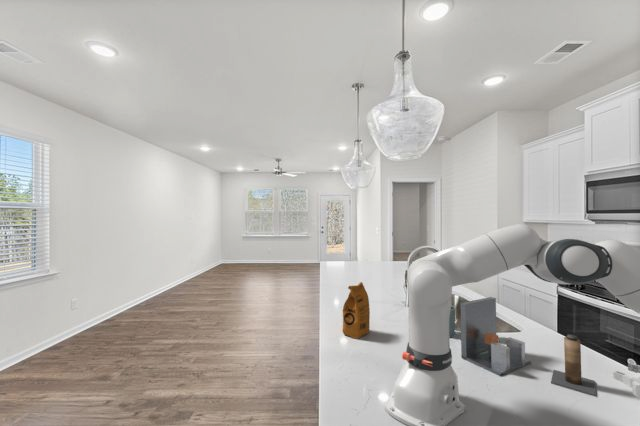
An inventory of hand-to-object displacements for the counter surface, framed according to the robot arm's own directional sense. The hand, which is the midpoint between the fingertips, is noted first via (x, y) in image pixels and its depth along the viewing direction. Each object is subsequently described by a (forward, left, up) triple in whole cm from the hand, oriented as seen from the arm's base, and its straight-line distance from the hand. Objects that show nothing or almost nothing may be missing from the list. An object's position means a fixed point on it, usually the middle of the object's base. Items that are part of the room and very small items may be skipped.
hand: (621, 370), depth 80 cm
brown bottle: (+4, +10, -8) cm, 14 cm away
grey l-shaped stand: (+4, +31, -9) cm, 33 cm away
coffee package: (-9, +83, -9) cm, 84 cm away
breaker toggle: (+4, +33, -7) cm, 34 cm away
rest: (+4, +10, -9) cm, 14 cm away
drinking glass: (+17, +54, -9) cm, 58 cm away
